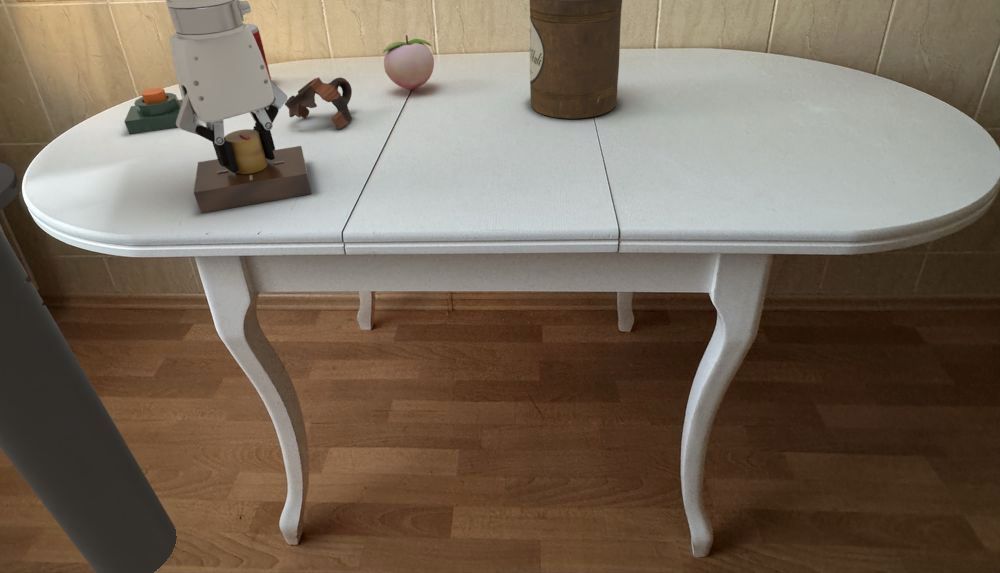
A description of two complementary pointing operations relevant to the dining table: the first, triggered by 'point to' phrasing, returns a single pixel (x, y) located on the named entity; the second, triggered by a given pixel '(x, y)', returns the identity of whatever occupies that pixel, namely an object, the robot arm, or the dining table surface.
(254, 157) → the lock knob
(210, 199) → the plate
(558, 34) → the wooden container
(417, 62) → the decorative fruit
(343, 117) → the brown angular looped piece
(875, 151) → the dining table surface
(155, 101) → the button
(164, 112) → the button box
